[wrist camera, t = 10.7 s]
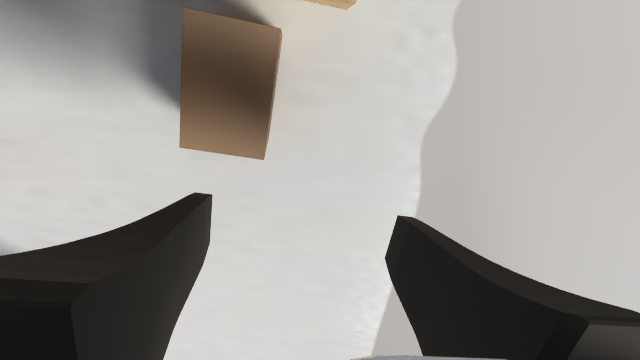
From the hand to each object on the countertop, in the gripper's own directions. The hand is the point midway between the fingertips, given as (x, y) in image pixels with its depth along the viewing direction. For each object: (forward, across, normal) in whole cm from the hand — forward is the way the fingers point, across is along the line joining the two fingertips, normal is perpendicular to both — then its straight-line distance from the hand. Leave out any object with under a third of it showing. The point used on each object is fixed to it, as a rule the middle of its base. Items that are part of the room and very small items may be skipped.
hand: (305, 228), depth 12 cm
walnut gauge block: (+10, +4, -4) cm, 11 cm away
